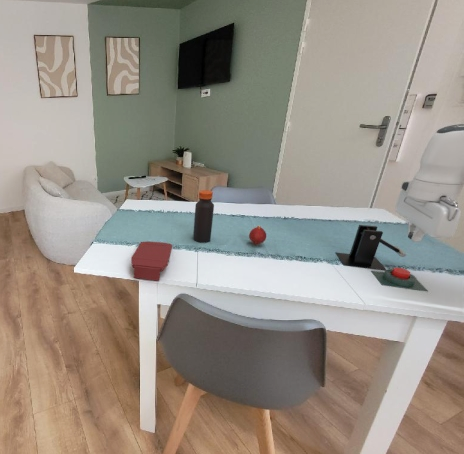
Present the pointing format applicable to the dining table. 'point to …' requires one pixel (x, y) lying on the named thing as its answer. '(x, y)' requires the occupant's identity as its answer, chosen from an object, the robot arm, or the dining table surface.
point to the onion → (257, 235)
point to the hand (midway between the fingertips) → (413, 239)
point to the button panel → (398, 281)
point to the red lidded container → (150, 259)
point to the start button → (400, 273)
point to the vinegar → (203, 217)
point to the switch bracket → (364, 249)
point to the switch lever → (390, 246)
